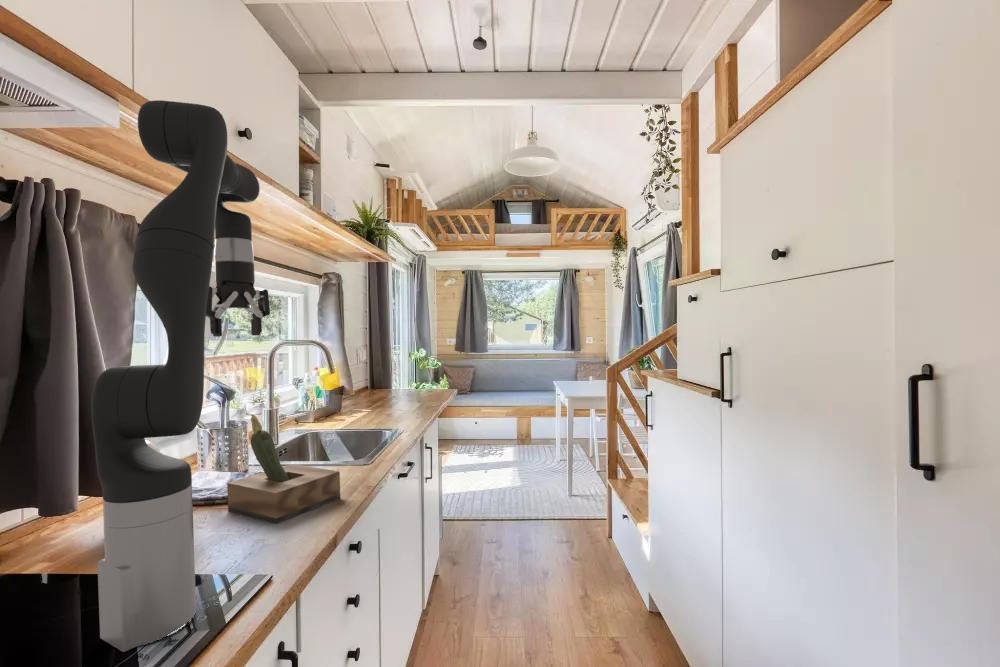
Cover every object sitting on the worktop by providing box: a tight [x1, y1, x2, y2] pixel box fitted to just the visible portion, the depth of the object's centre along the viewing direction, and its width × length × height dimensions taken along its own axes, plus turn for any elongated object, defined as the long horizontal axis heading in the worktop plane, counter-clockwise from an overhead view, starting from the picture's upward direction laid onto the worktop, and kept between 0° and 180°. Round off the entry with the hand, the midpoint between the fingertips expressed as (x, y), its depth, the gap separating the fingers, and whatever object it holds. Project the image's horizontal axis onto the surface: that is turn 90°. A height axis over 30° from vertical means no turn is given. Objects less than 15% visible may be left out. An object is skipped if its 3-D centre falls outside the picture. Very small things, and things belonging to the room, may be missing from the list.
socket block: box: [226, 463, 341, 525], centre depth 106 cm, size 16×16×6 cm
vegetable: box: [250, 413, 290, 483], centre depth 105 cm, size 4×4×20 cm
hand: (237, 335), depth 107 cm, fingers open, 8 cm apart
